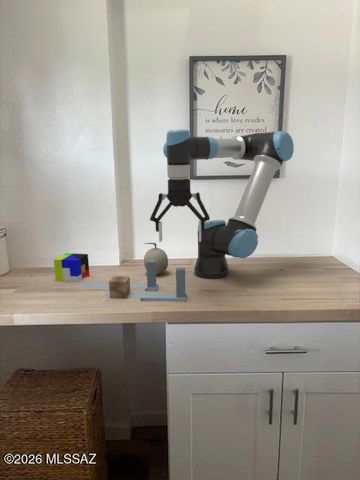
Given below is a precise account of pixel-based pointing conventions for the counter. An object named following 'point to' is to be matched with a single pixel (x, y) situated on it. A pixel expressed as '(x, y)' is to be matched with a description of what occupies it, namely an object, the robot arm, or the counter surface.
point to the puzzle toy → (71, 267)
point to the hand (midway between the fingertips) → (180, 240)
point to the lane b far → (94, 285)
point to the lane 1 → (149, 277)
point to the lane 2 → (177, 296)
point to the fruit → (157, 258)
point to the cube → (119, 287)
